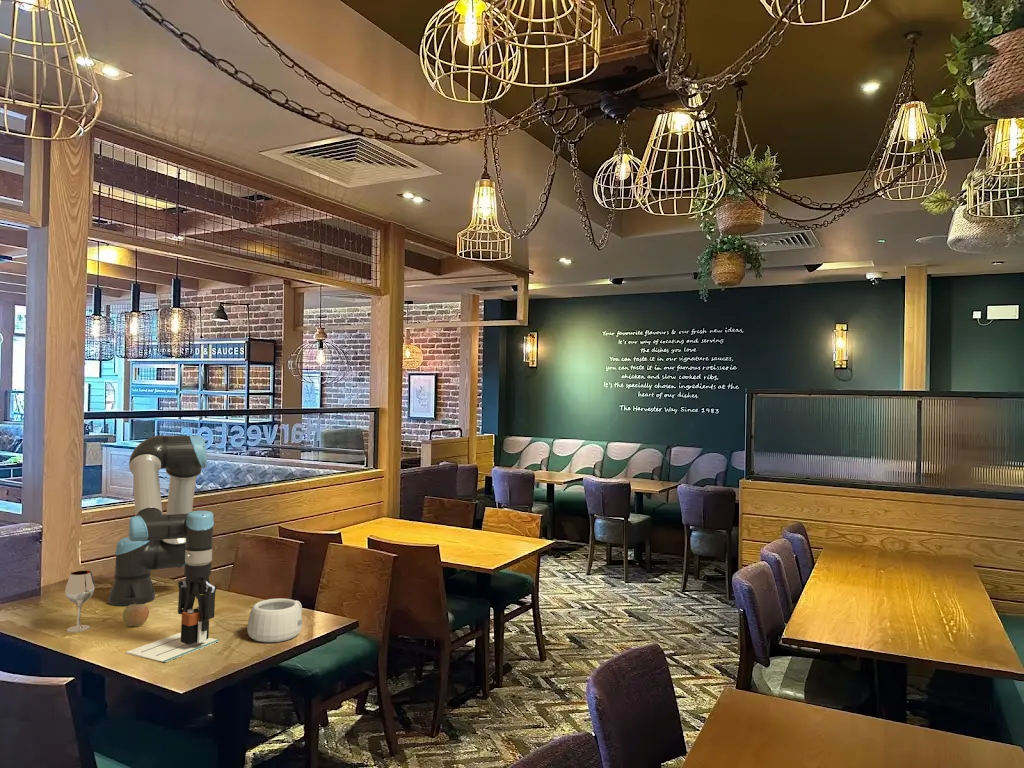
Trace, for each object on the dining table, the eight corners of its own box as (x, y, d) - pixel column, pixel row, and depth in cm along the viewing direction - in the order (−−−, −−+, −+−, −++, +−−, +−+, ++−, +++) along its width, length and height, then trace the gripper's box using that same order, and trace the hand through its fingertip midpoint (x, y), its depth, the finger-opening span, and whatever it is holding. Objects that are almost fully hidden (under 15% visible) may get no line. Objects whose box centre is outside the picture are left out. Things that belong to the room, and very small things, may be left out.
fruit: (121, 630, 220) (122, 605, 220) (123, 623, 227) (124, 598, 227) (147, 627, 223) (148, 602, 224) (149, 620, 230) (150, 596, 230)
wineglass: (78, 634, 215) (81, 576, 215) (56, 631, 217) (59, 574, 217) (99, 626, 223) (102, 570, 223) (77, 623, 225) (80, 568, 225)
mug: (278, 648, 210) (280, 615, 210) (235, 639, 216) (236, 607, 216) (321, 627, 230) (322, 597, 230) (280, 619, 236) (281, 590, 236)
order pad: (182, 632, 220) (182, 631, 220) (220, 641, 213) (220, 640, 213) (125, 653, 201) (125, 651, 201) (164, 663, 195) (164, 661, 195)
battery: (209, 639, 210) (210, 606, 210) (188, 645, 204) (189, 611, 204) (200, 636, 212) (202, 603, 212) (179, 642, 206) (181, 608, 207)
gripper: (166, 561, 209) (162, 638, 208) (210, 569, 202) (207, 649, 201) (186, 556, 216) (183, 631, 215) (230, 564, 208) (226, 641, 208)
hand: (194, 639), depth 208 cm, fingers closed on battery, 5 cm apart
